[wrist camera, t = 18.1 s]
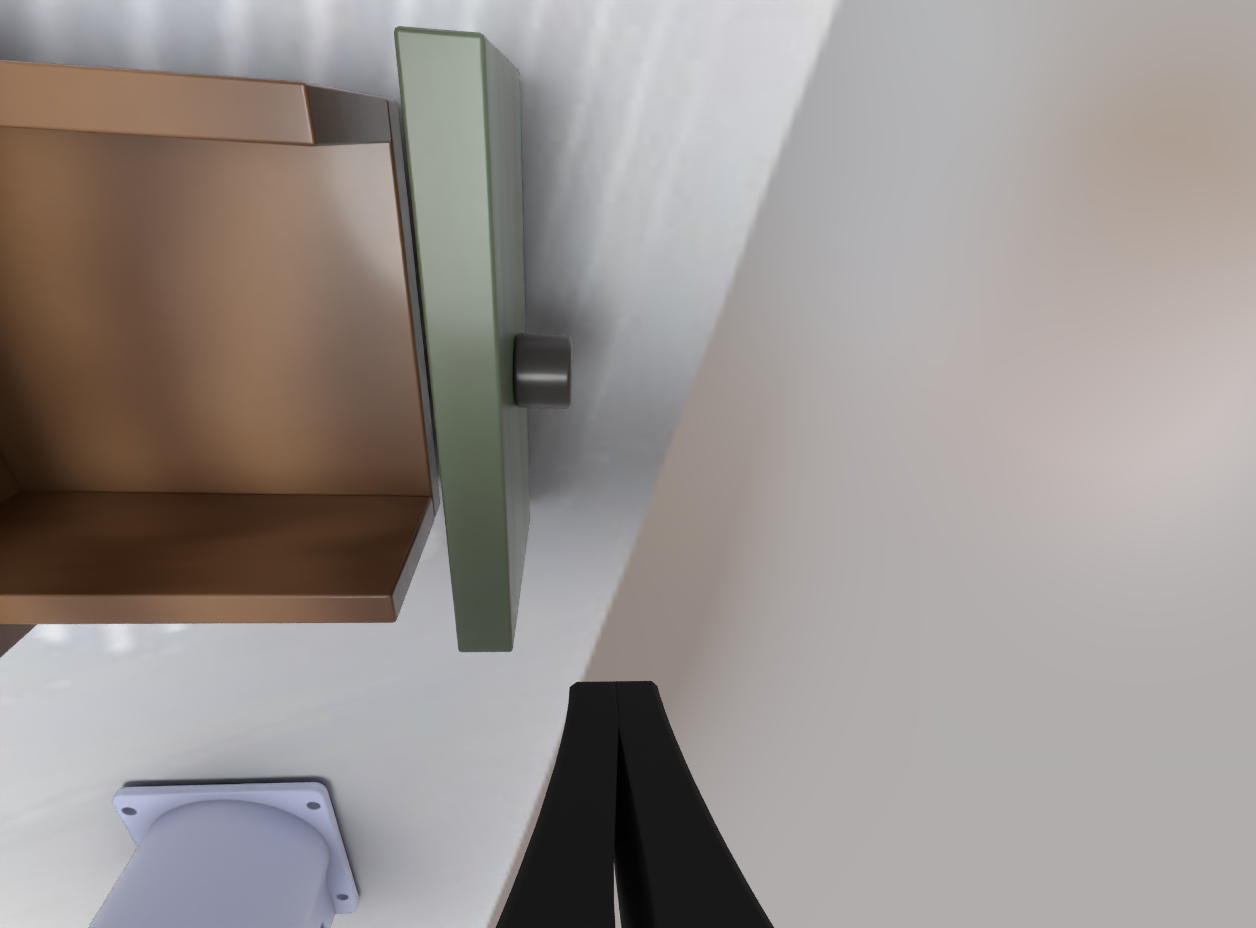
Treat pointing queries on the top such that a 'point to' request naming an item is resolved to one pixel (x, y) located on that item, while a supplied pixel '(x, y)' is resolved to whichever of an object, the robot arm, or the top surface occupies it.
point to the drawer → (265, 343)
